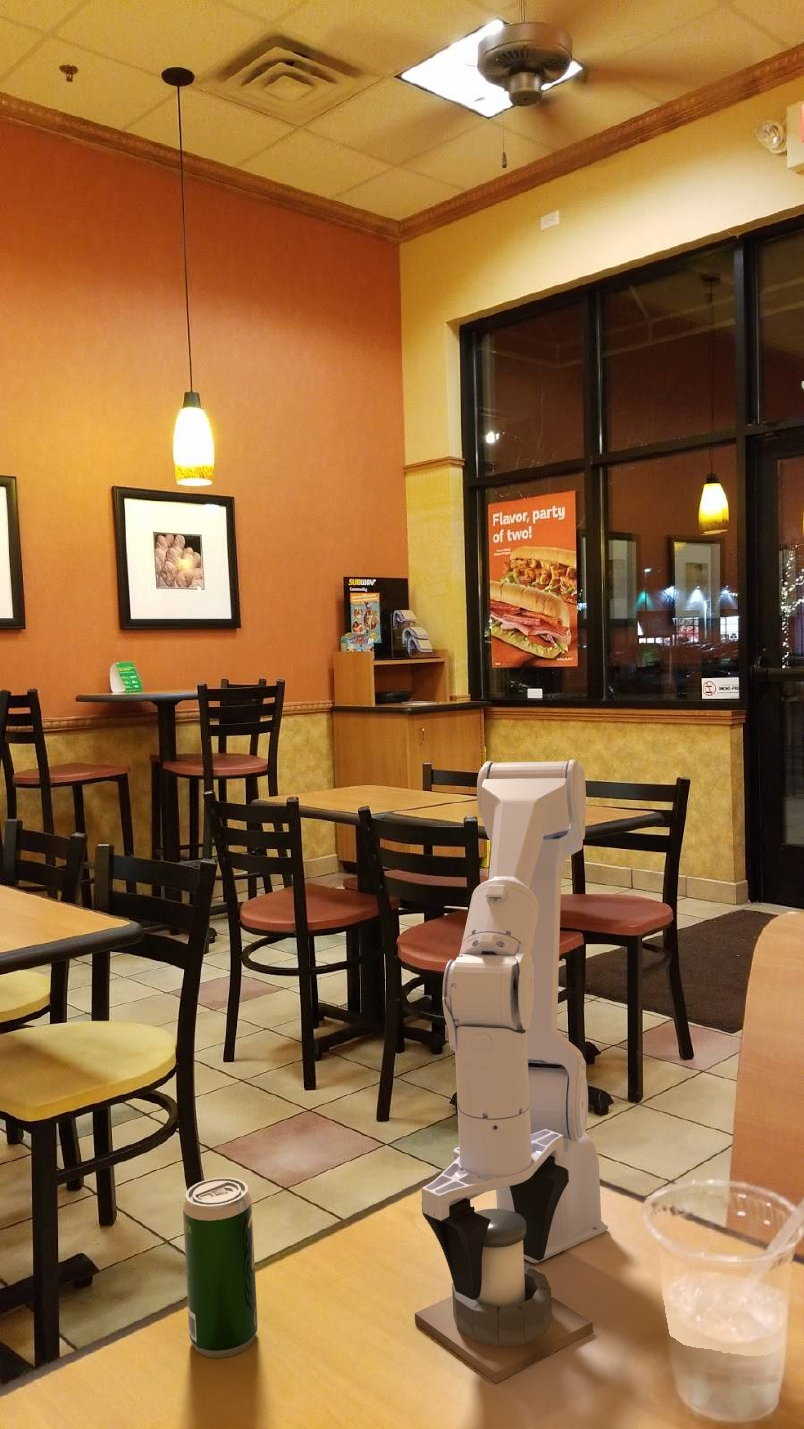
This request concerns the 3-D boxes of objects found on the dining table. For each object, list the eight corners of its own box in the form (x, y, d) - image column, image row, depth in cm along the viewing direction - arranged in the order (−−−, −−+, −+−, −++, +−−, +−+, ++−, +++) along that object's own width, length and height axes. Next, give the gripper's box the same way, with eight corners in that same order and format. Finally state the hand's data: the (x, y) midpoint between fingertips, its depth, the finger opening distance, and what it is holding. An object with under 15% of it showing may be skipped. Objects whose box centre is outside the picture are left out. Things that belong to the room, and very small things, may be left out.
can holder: (508, 1278, 95) (506, 1241, 95) (592, 1331, 87) (591, 1290, 87) (415, 1322, 90) (413, 1282, 89) (496, 1383, 81) (494, 1339, 81)
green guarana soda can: (206, 1369, 85) (198, 1214, 84) (179, 1335, 89) (171, 1188, 89) (269, 1343, 88) (262, 1193, 87) (240, 1312, 92) (233, 1170, 92)
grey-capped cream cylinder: (495, 1292, 92) (491, 1202, 92) (542, 1314, 88) (539, 1221, 88) (453, 1318, 89) (450, 1224, 88) (502, 1342, 85) (497, 1245, 85)
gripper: (516, 1068, 96) (522, 1223, 96) (391, 1119, 86) (399, 1292, 86) (581, 1088, 91) (587, 1252, 91) (456, 1145, 81) (464, 1328, 81)
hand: (500, 1274), depth 88 cm, fingers open, 7 cm apart
